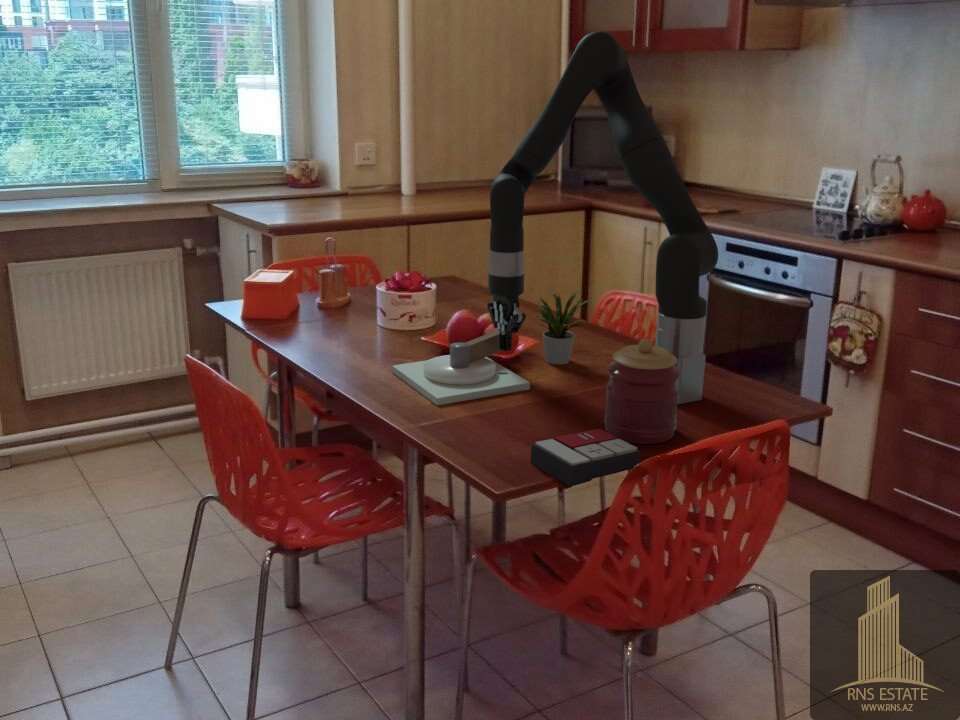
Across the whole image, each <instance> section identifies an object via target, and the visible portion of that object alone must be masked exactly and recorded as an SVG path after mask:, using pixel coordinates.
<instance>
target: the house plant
mask: <svg viewBox="0 0 960 720" xmlns="http://www.w3.org/2000/svg"><path fill="white" fill-rule="evenodd" d="M580 293H581V290H579V291H576V292H574V293H573V294H572V295H570V297H569V298H568V300H567V302H566V303H565V306H564V307H565V308H564V311H563V310H562V309H563V307H562V299H561V295H560V293H559V292H557V294H556V293H555V292H554V291H552V290H550V294H551V295H552V296H553V298H554V300H555V302H554V303H555V316H554V314H553V311H552V310H551V307H550V305H548V303H547V301H545V300H544V299H543V298H541V297H540V296H538V295H536V294H534V296H535V297H537V298H538V299H539V300H540V301H541V302H539V301H537V305H538V309H539V312H540V315H536V320H540V321H541V322H543V323H545V324H547V325H548V327H547V326H546V325H544V324H539V325H538V327H543V328H546V329H547V331H546V330H545V331H544V332H543V333H542V338H543V346H544V355H545V360H546V363H548V364H550V365H559V366H560V365H567V364H569V363H570V360H571V356H572V351H573V345H574V340H575V336H576V335H575V333H574V332H572V331H569V330H570V329H572V328H574V327H581V328H584V326H583V325H582V324H580V323H579V324H578V322H582V323H583V322H584V323H586V324H587V322H586V321H585V320H584V319H581V318H580V319H576V320H574V321H573V322H572V323H571V324H570V322H571V320H572V318H573V317H574V316H575V314H576V312H577V313H578V312H579V308H580V307H581V306H582V305H584V304H586V303H588V302H591V301H597V299H595V298H593V299H586V300H584V299H580V300H578V301H576V302H575V304H574V305H573V307H572V308H571V309H570V307H571V305H572V303H573V301H574V300H575V299H578V297H577V295H578V294H580ZM569 309H570V310H569ZM569 324H570V325H569Z"/></svg>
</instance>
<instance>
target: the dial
mask: <svg viewBox="0 0 960 720" xmlns="http://www.w3.org/2000/svg"><path fill="white" fill-rule="evenodd" d="M499 341H500V333H498V330H494V331H492V332H490V333H487V334H484V335H482V336H478V337H477V338H474V339H471V340H469V341H466V342H453V343H451V344H450V345H449V354H447V355H446V354H445V355H440V356H436V357H432V358H430V359H428V361H426V360H425V361H426V362H425V363H424V375H425V376H426V377H427V378H428V379H430V380H433V381H436V382H440V383H445V384H456V385H465V384H475V383H481V382H484V381H487V380H490V379H492V378H493V377H494V376H495V374H496V365H495V363H494V362H495V361H494V360H493V361H494V362H493V361H491V360H492V359H491V360H489V359H490V358H489V359H486V358H485V357H490V356H492V355H494V354H497V353H498V352H499V353H500V352H503V351H502V350H500V348H499Z"/></svg>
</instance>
